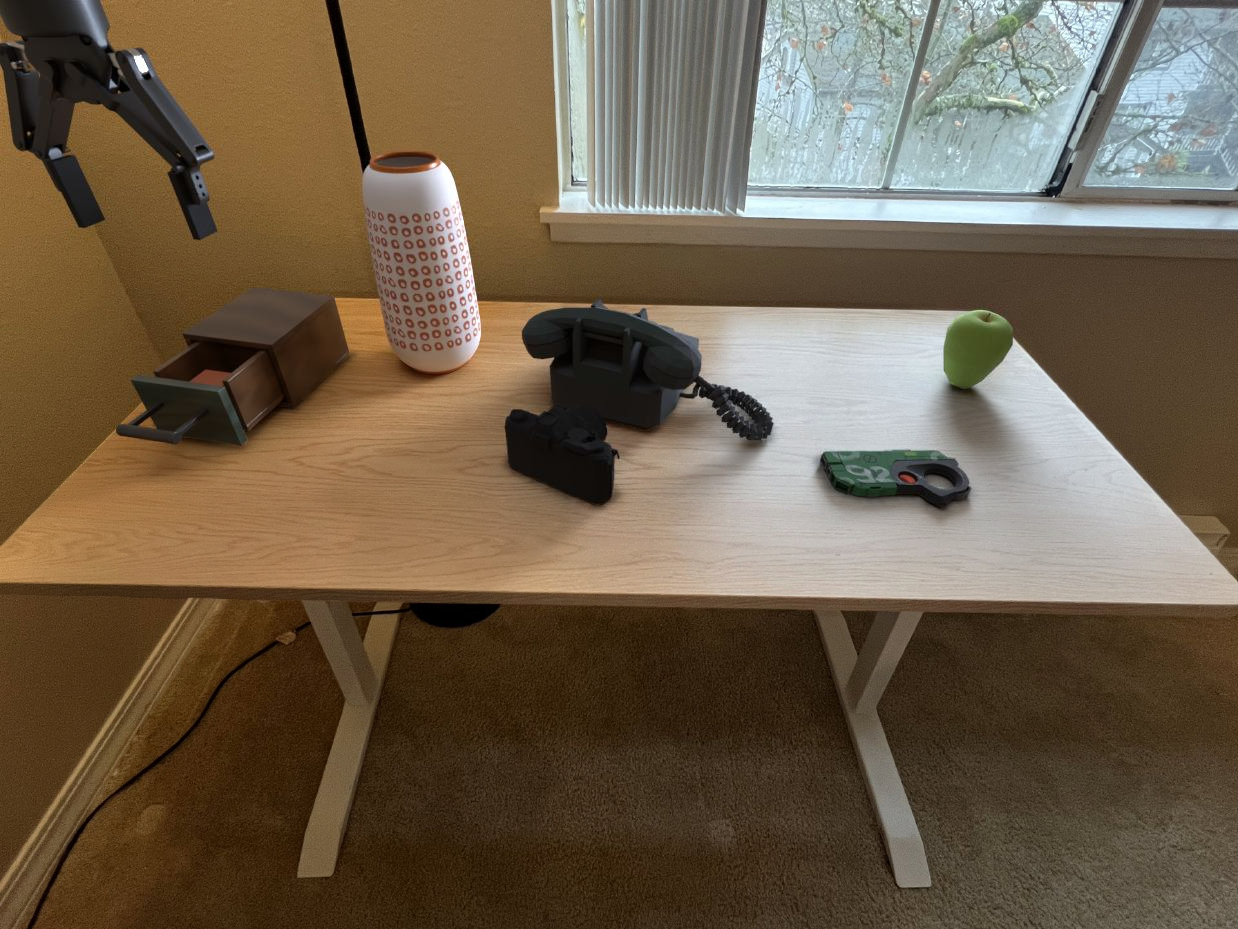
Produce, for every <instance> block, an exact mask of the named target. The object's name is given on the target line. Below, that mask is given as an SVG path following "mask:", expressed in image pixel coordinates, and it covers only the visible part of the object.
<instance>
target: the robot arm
mask: <svg viewBox="0 0 1238 929" xmlns="http://www.w3.org/2000/svg"><path fill="white" fill-rule="evenodd" d="M106 14H107V13H106V11H105V10H104V7H103V5H102V2H101V0H0V18H1V20H2V22H3V24H4V26H5V28H6V29H7V31H8V32H10V33H11V34H12V35H15V36H18V37H21V40H19V39H18V40H11V41H4V42H0V67H1V70H2V74H3V81H4V89H5V95H6V102H7V111H8V117H9V123H10V129H11V130H10V131H11V140H12V144H13V145H14V148H16V149H17V150H18V151H20V152H29V153H31V154H33V155H34V156H35V157H36V159H38V160H40V161H41V162H42V164H43V166H44V168H45V170H46V171H47V174H48V175H49V178H50V179H51V181H52V183H53V185H54V187H55V188H56V190H57V191H58V192H59V193H61V195H62V197H63V200H64V201H65V203H66V205H67V207H68V209H69V211H70V212H71V215H72V217H73V219H74V222H75V223H76V225H77V227H78V228H79V229H80V228H81V229H86V228H89V227H92V226H93V225H96V224H98V223H101V222H103V221H106V218H105V216H104V214H103V211H102V209H101V207H100V205H99V203H98V201H97V198H96V197H95V195H94V192H93V190H92V188H91V186H90V184H89V182H88V180H87V178H86V175H85V173H84V172H83V169H82V167H81V165H80V163H79V161H78V159H77V157H76V155H75V154H68V153H71V151H72V149H69V147H67V145H68V140H69V134H70V129H71V126H72V120H73V116H74V112H75V107H76V104H78V103H83V102H84V103H86V104H89V105H95V106H96V105H97V106H98V105H99V106H100V105H102V106H103V107H105V109H107V110H108V111H110V112H113V113H115V114H117V115H118V116H119V117H120V118H121V119H122V120H123V121H124V122H125V123H126V124H127V125H128V126H129V127H130V128H131V129H132V130H133V131H134V132H135V133H136V134H137V135H138V136H140V137H141V138H142V140H144V142H146V144H148V145H149V147H151V149H153V150H154V151H155V152H156V153H157V154H158V155H159V156H160V158H162V159H163V160H164V161H165V162H166V163H167V164H168V165H169V166H171V168H170V170H169V171H167V173H166V174H167V176H168V178H169V181H170V184H171V185H172V188H173V191H174V194H175V196H176V198H177V201H178V204H179V206H180V209H181V211H182V214H183V216H184V219H185V222H186V224H187V227H188V229H189V231H190V234H191V237H192V239H193V240H194V241H195V240H196V241H202V240H203V239H205V238H207V237H209V236H211V235H213V234H215V233H218V228H217V225H216V223H215V220H214V217H213V214H212V212H211V209H210V206H209V203H208V202H211V196H210V193H209V191H208V187H207V186H206V182H205V180H204V177H203V174H202V171H201V166H202V165H204V164H206V163H208V162H210V161H213V160H214V159H215V153H214V151H213V149H212V148H211V147H210V145H209V144H208V142H207V141H206V140H205V138H204V137H203V136H202V134H201V133H200V132H199V130H198V129H197V127H196V126H195V125H194V124H193V122H192V121H191V119H190V118H189V117H188V115H187V114H186V113H185V111H184V110H183V109H182V107H181V106H180V104H179V103H178V102H177V101H176V99H175V98H174V95H173V94H171V92H170V91H169V90H168V88H167V87H166V85H165V84H164V83H163V82H162V80H161V78H160V77H159V76H158V74H157V71H156V69H155V67H154V65H153V63H152V61H151V59H150V56H149V54H148V53H147V51H146V50H145V49H144V48H142V47H139V46H138V47H133V48H127V49H126V48H125V49H119V50H115V48H114V47H113V45H112V44H111V42H110V41H109V38H108V32H109V30H110V29H111V25H110V22H109V19H108V17H107V15H106ZM28 133H29V134H28Z"/></svg>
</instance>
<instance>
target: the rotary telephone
mask: <svg viewBox="0 0 1238 929" xmlns="http://www.w3.org/2000/svg"><path fill="white" fill-rule="evenodd" d="M523 326H524V327H523V328H522V329H521V340H522V343H523V345H524V347H525V349H526V352H527V354H528V355H529V356H530V357H531V358H532V359H536V360H547V359H552V361H551V363H550V365H549V381H550V382H549V384H550V385H549V386H550V399H551V400H550V401H551V403H552V404H554V405H555V406H556V407H559V408H562V409H565V410H567V409H568V408H570V407H573V406H575V405H576V404H586V405H589V406H591V407H593V408H595V409H596V410H597V411H598V412H599V413H600V414H601V415H602V417H603V418H604V420H605V422H609V423H613V424H617V425H621V426H626V427H630V428H634V429H637V430H641V431H643V430H648V431H649V430H652V429H655V428H657V427H658V426H660V425H661V424H663V422H664V421H665V420H666V419H667V418H668V417H669V416H670V415H671V414H672V412H674V411H675V409H676V408H677V406H678V403H679V401H680V400H681V398H684V399H690V400H694V399H695V398H697V397H699V398H701V399H705V398H706V399H707V400H709V401H711V402H712V404H711V407H712V408H713V409H715V410H716V412H715V415H716V416H718V417H720V422H721V423H723V424H726V429H731V431H732V434H738V436H739V439H743V438H745V439H746V441H748V442H750V441H754V442H762V440H768V436H771V435H772V431H773V427H774V425H775V422H773V419H774V418H773V417H772V416H770V415H771V413H770V412H769V411H768V410H767V408H766V407H764V406H763V403H760V402H759V401H758V399H756V398H754V397H753V396H752V395H751V394H749V393H748V394H746V392H745V391H739V389H738V388H732V387H731V386H725V385H723V384H717V383H711V382H708V380H706V379H704V377H702V376H701V375H700V373H701V372H702V371H701V370H702V362H703V361H702V360H703V358H702V357H703V355H702V354H701V352H700V350H699V346H700V339H699V338H698V337H695V336H692V335H689V334H686V333H682V332H679V331H676V330H675V329H674V327H670V326H666V325H662V324H658V322H655V321H652V320H649V315H648V311H647V308H645V307H642V308H640V310H639V312H635V313H630V312H626V311H621V310H617V309H616V310H615V309H611V308H609V307H606V306H605V305H604V303H603V301H602V300H601V299H598V298H596V300H594V302H592V304H591V305H590V306H589V307H561V308H553V309H547V310H544V311H541V312H539V313H537V314H535V315H533V316H532V317H530V318H529V319H528V320H527V321H526V323H525V325H523ZM694 383H695V384H694ZM693 384H694V386H693V388H692V392H691V393H688V392H684V390H686V389H688V387H690V386H691V385H693ZM736 407H738V408H739V409H740V410H741V411H743V412H744V413H745V414H747V415H748V417H750V418H751V421H753V422H750V419H746V418H745V416H744V415H740V411H737V410H736Z"/></svg>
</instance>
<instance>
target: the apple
mask: <svg viewBox="0 0 1238 929" xmlns="http://www.w3.org/2000/svg"><path fill="white" fill-rule="evenodd" d="M1013 330H1014V328H1013V327H1012V326H1011V324H1010V322H1009V320H1007V319H1006V318H1005V317H1003V316H1001V315H999V314H998V313H995V312H992V311H990V310H983V309H976V310H971V311H968V312H964V313H962V314H959V315H957V316H956V317H955V318H954V320H953V321H951V323H950V324H949V325H948V326H947V327H946V331H945V337H944V342H943V350H942V351H943V352H942V358H943V359H942V360H943V363H942V364H943V372H944V374H945V376H946V378H947V380H948V382H949V383H950V384H951V385H952V386H954V387H957V388H959V389H963V390H967V389H970V388H972V387H974V386H976V385H977V384H979V383H982V382H983V381H984V380H985V379H986V378H987V377H988V376H989V375H990V374H991V373H992V372H993V371H995V370H996V369H997V367H998V366H1000V364H1002V363H1003V361H1004V360H1005V359H1006V356H1007V355H1008V353H1009V352H1010V350H1011V349H1012V347H1013V345H1014V331H1013Z"/></svg>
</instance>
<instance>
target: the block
mask: <svg viewBox="0 0 1238 929" xmlns="http://www.w3.org/2000/svg"><path fill="white" fill-rule="evenodd" d="M230 374H231V373H227V372H220V371H213V370H204V371H203V372H202V373H200V374H199V375H198V376H196V377H195V378H194V379H192V380H191V381H189V382H195V383H202V384H209V385H217V386H224V385H223V382H222V380H223V379H224V378H226V377H227V376H228V375H230Z"/></svg>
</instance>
